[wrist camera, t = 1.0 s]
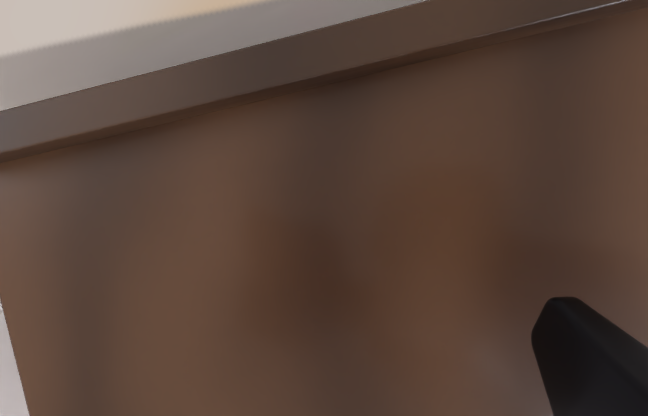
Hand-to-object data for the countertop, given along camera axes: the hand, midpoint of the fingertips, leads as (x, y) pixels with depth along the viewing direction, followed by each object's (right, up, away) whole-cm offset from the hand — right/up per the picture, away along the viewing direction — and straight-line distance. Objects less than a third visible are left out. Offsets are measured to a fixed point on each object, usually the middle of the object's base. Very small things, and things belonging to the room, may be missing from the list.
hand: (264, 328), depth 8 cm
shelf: (+2, +1, +11) cm, 12 cm away
